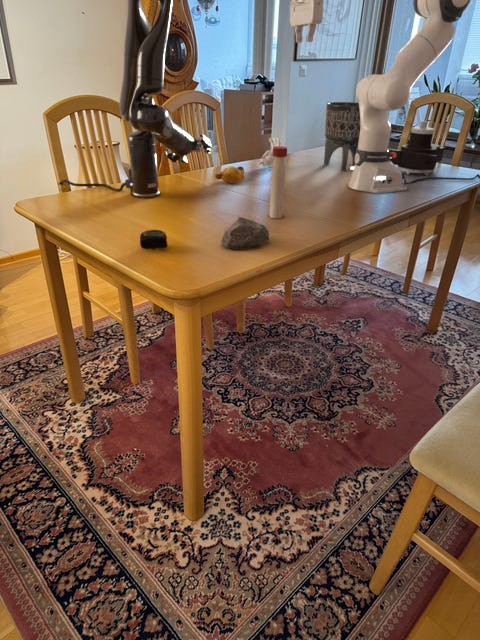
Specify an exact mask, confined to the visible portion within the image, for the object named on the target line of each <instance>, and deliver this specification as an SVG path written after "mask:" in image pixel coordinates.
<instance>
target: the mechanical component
mask: <svg viewBox="0 0 480 640" xmlns="http://www.w3.org/2000/svg"><path fill="white" fill-rule="evenodd" d="M428 122H429V121H427V120H420V124H419V126H413V127H411V129H410V134H409V135H410V136H409V139H408V143H407V144H402V145H400V146H401V147H400V149H394V148H388V151H390V152H395V154H397V156H396V157H395V158H392V157H390V161H391V162H392V163H393V164H394V165H395V166H396V167H397V168H398V169H399V170H400V171H401V172H406V175H411V173H413V174H423V175H424V176H428V175H429V174H430V173H432V172H433V171H434V170H435V169H436V166H437V163H439V162H442V161H443V157H444V155H445V150H446V149H445V148H446V147H445V146H441V145H440V144H437V143H432V141H433V136H434V133H435V129H434V128H433V127H428Z"/></svg>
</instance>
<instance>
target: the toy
mask: <svg viewBox="0 0 480 640" xmlns="http://www.w3.org/2000/svg"><path fill="white" fill-rule="evenodd" d="M214 177H215V180H222V181H223V182H227V183H228V184H238V183H240V182H243V181H244V180H245V179H246V175H245V169H244V166H238V167H237V166H236V167H235V166H233V165H232V166H228V167H224V168H223V169H222V171H220V172H219V173H216V174H215V175H214Z"/></svg>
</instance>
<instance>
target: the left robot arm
mask: <svg viewBox="0 0 480 640" xmlns="http://www.w3.org/2000/svg"><path fill="white" fill-rule="evenodd" d="M153 1H154V2H158V3H159V7H158V12H157V16H156V19H155V22H154V23H153V25H151V23H150V21H149V19H148V18H147V15H146V13H145V9H144V6H143V4H142V0H127V15H126V26H125V27H126V28H125V37H124V48H123V50H124V51H123V73H122V81H121V82H122V83H121V88H120V93H119V105H118V106H119V114H120V117H121V119H122V120H123V121H124V122H126V123H130V126H131V127H132V128H133V129H134V130H135V131H134V132H131V133H130V134H128V136H127V146H128V156H129V166H128V168H127V170H128V171H127V172H128V178H127V179H125V180H124V182H123V183H122V184H121V185H120V187H119V188H114V187H113V186H111V185H109V184H106V183H75V182H72V181H70V180H67V179H62V180H61V181H62V182H60V181H59V182H58V185H62V184H64V183H66V184H68V185H71V186H73V187H103V188H106V189H107V188H108V189H109V190H112V191H115V192H122V191H123V190H124V188H126V189H129V190H130V195H132V196H134V197H136V198H144V199H145V198H146V199H148V198H155V197H157V196H159V195H160V185H159V184H160V183H159V170H158V157H157V155H158V154H157V144H156V143H157V142H159V143H160V144H162V145H163V146H164V147H165V148H166V149H165V155H166V158H167V159H168V160H169V161H171V162H172V163H177V161H178V162H181V163H183V164H188V158H187V155H190V154H191V153H200V152H204V153H206V154H207V155H211V148H212V142H211V139H210V138H208V137H207V136H206V135H204V134H200V135H199V137H198V138H194V137H192V135H191V134H190V133H189V132H187V130H185V129H184V128H183V127H182V126H181V125H179V124H178V123H176V122H175V121H174V120H172V117H171V115H170V112H169V110H168V109H167V108H166V107H164V106H163V105H160V104H156V103H155V100H154V97H153V96H155V95H160V94H162V93H163V91H164V83H165V82H164V80H165V66H166V65H165V64H166V63H165V62H166V61H165V60H166V52H167V44H168V38H169V32H170V26H171V25H170V24H171V19H172V11H173V3H174V0H153ZM156 140H157V141H156Z"/></svg>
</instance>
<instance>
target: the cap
mask: <svg viewBox="0 0 480 640" xmlns="http://www.w3.org/2000/svg"><path fill="white" fill-rule="evenodd" d="M273 156H274V157H284V158H286V157H287V156H288V147H287V146H281V145H280V146H275V147H273Z"/></svg>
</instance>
